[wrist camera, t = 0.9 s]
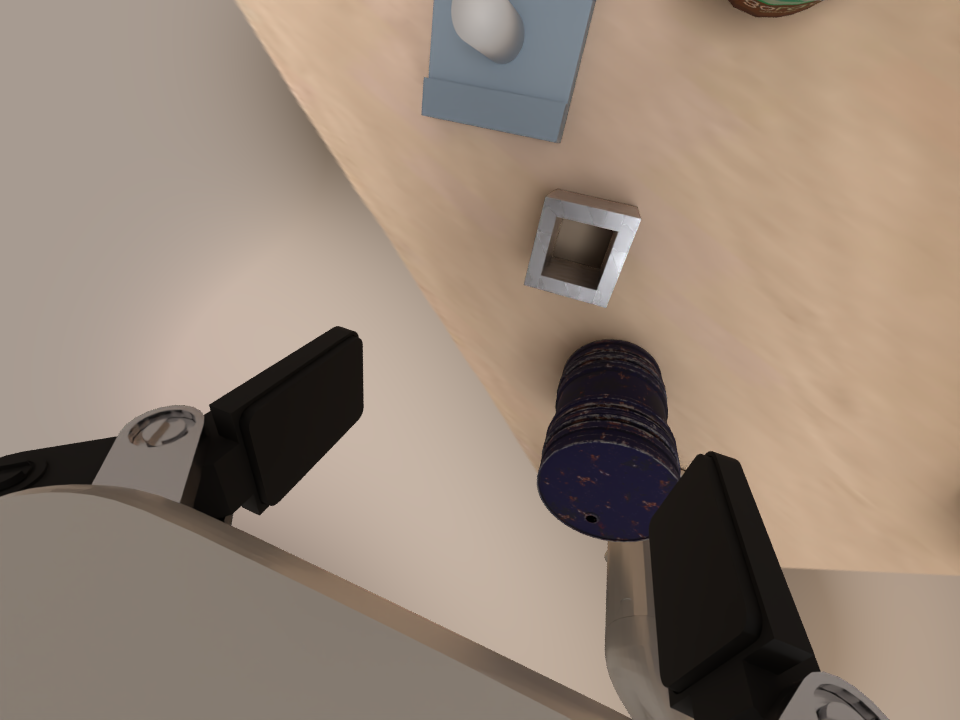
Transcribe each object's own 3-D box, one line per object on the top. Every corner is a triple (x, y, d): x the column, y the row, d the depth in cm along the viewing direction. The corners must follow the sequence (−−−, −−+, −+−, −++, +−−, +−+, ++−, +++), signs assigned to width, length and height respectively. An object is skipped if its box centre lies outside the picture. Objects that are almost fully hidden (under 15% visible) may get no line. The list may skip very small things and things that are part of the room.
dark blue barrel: (579, 325, 35) (558, 418, 23) (682, 356, 34) (718, 476, 21) (550, 401, 41) (521, 510, 28) (637, 432, 39) (646, 561, 27)
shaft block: (560, 143, 28) (544, 141, 22) (433, 117, 30) (387, 109, 24) (611, -60, 22) (608, -139, 16) (449, -76, 24) (392, -152, 18)
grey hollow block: (608, 283, 32) (606, 307, 28) (537, 264, 34) (523, 284, 29) (637, 206, 29) (641, 218, 24) (557, 188, 30) (545, 196, 25)
